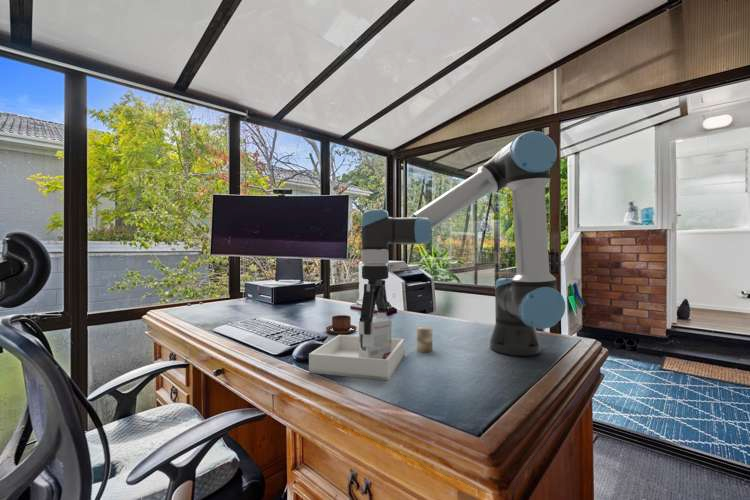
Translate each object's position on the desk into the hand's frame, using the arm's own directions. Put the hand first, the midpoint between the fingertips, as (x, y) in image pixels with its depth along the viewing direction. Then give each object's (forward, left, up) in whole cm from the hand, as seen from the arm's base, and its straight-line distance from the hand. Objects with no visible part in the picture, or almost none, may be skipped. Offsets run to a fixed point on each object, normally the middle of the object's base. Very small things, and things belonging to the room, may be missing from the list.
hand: (375, 340), depth 100 cm
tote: (+5, 0, -7) cm, 8 cm away
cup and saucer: (+24, -34, -7) cm, 42 cm away
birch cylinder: (-11, -18, -7) cm, 22 cm away
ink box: (0, 0, -6) cm, 6 cm away
